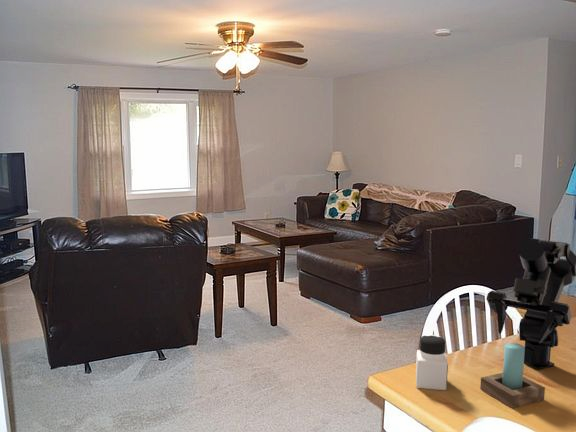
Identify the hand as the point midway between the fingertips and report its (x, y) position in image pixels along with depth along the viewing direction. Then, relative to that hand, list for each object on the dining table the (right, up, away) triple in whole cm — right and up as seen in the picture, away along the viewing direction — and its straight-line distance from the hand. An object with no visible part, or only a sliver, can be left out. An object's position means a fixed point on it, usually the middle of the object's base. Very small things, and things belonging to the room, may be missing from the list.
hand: (519, 337), depth 129 cm
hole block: (-2, -14, -1) cm, 14 cm away
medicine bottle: (-20, -13, +5) cm, 24 cm away
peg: (-2, -14, 0) cm, 14 cm away
